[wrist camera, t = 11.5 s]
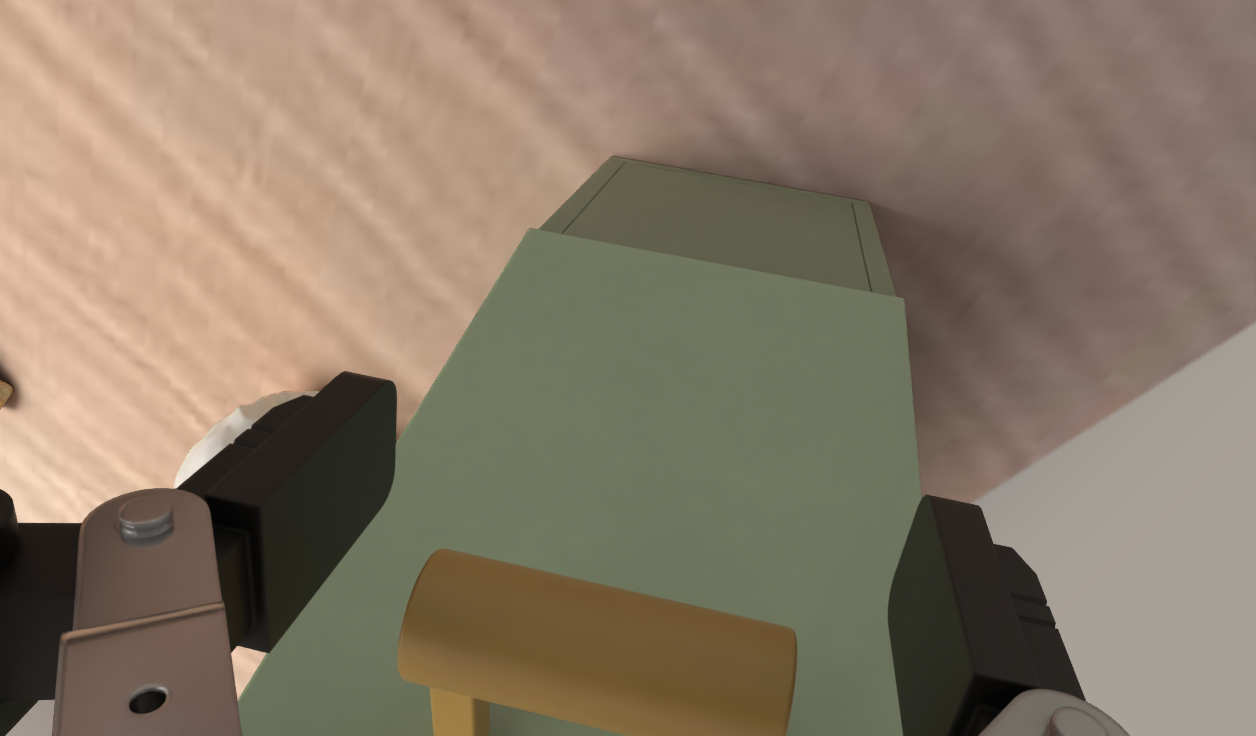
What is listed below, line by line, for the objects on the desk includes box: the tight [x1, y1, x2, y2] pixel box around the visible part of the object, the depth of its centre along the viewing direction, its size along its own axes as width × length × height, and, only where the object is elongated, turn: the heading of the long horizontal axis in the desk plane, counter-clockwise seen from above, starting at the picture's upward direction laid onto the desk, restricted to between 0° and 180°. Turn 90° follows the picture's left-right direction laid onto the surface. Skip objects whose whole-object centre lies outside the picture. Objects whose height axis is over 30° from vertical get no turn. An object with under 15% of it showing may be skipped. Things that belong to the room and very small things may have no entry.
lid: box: [238, 228, 922, 736], centre depth 18 cm, size 18×12×5 cm
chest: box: [538, 156, 897, 297], centre depth 37 cm, size 18×12×13 cm, turn 172°
